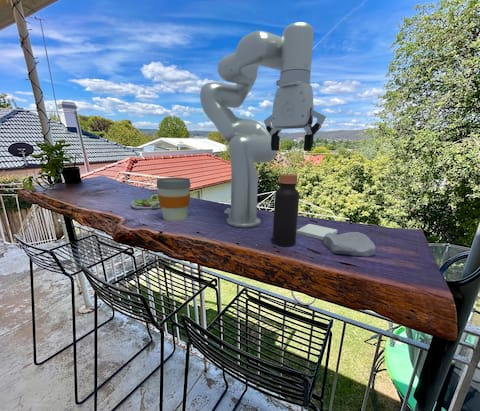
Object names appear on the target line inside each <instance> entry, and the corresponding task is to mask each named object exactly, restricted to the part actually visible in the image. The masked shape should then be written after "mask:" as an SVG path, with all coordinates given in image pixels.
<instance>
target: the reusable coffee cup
mask: <svg viewBox="0 0 480 411" xmlns="http://www.w3.org/2000/svg"><path fill="white" fill-rule="evenodd" d="M191 186H192V185H191V180H190V178H189V177H188V178H187V177H164V178H163V177H162V178H157V179H156V188H157V191H158V193H157V194H158V198H159V204H160V207H161V208H160V209H161V213H162V219H163V220H165V221H169V222H170V221H171V222H175V221H176V222H177V221H183V220H185V219H187V218H188V210H189V208H188V207H189V206H190V200H191V193H190V190H191V189H190V188H191Z"/></svg>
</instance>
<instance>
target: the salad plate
mask: <svg viewBox="0 0 480 411" xmlns="http://www.w3.org/2000/svg"><path fill="white" fill-rule="evenodd" d="M158 194H159V193H156V194H155V193H154V194H152V195H150V196H149V197H148V198H147V199H146V198H145V199H144V198H139V199H135V200H132V201H131V203H130V206H131V207H132V208H133V209H135V210H140V211H141V210H144V211H145V210H158V209H162V208H161V207H160V204H159V198H158Z"/></svg>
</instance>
